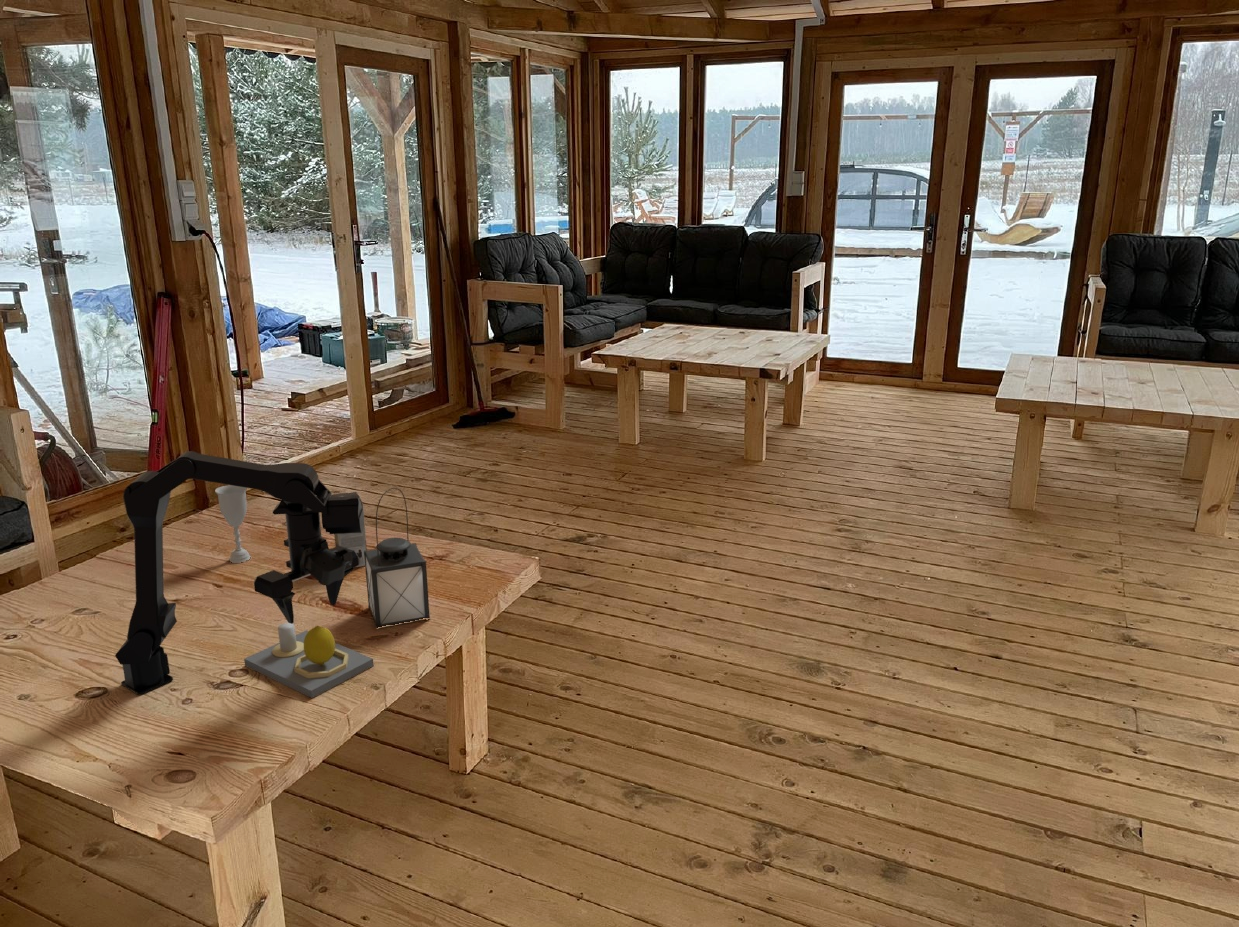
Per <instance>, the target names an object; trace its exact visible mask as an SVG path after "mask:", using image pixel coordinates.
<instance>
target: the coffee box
mask: <svg viewBox="0 0 1239 927" xmlns="http://www.w3.org/2000/svg"><path fill="white" fill-rule="evenodd" d="M351 495H359V493H358V492H357V491H351V492H340V493H334V494H333V493H332V494H331V497H346V496H351ZM360 502H361V505H362V509H363V511H364V502H363V500H362V499H361V498H360ZM333 537H334V546H335V547H337V546H341V547H344V548H348V549H350V550H353V551H355V552H356V553H357V555H358V559H359V566H356V567H355V568H359V567H365V558H364V551H365V550H368V547H367V537H366V523H365V520H364V528H363V532H362V533H348V534H333Z"/></svg>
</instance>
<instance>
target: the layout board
mask: <svg viewBox="0 0 1239 927" xmlns="http://www.w3.org/2000/svg"><path fill="white" fill-rule="evenodd" d="M308 631H309V630H304V631H302V632H300V633H298V634H296V627H295V623H293V624H291V623H289V622H284V623H281V624H279V625H278V626H277V632H278V640H279V642H278V643H276V644H274V645H271V646H269V647H266V648H265V649H263V650H260V651H258V652H256V653H254V654H251V655H248V656H247V657H245V658H243V660H244V666H245V667H247V668H249V669H251V670H253V671H255V672H257V673H259V674H261V675H264V676H265V677H266V678H270V679H272V680H274V681H276V682H277V683H280V684H281V685H284V686H286V687H288V688H290V689H293V690H294V691H296V692H297V693H301V695H305V696H307V697H308V698H311V699H313V698H315V697H317V696H319V695H321V694H323V693H325V692H327V691H328V690H330V689H332V688H335V687H336V686H338V685H340V684H342V683H343V682H345V681H348V680H350V679H351V678H353V677H355V676H358V675H359V674H361V673H363V672H364V670H365V671H366V670H368V668H369V669H370V667H371V668H372V667H374V664H375V663H374V658H372V657H370V656H368V655H365V654H363V653H360V652H358V651H356V650H353V649H351V648H349V647H346V646H344V645H342V644H339V643H336V642H335V651H334V654H333V656H332V658H331V659H330V660H329V661H327V662H325V663H324V664H323V665H319V664H315V663H312V662H311V661H309V660H308V658H307V657H306V655H305V653H304V639H305V636H306V634H307V633H308Z"/></svg>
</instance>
